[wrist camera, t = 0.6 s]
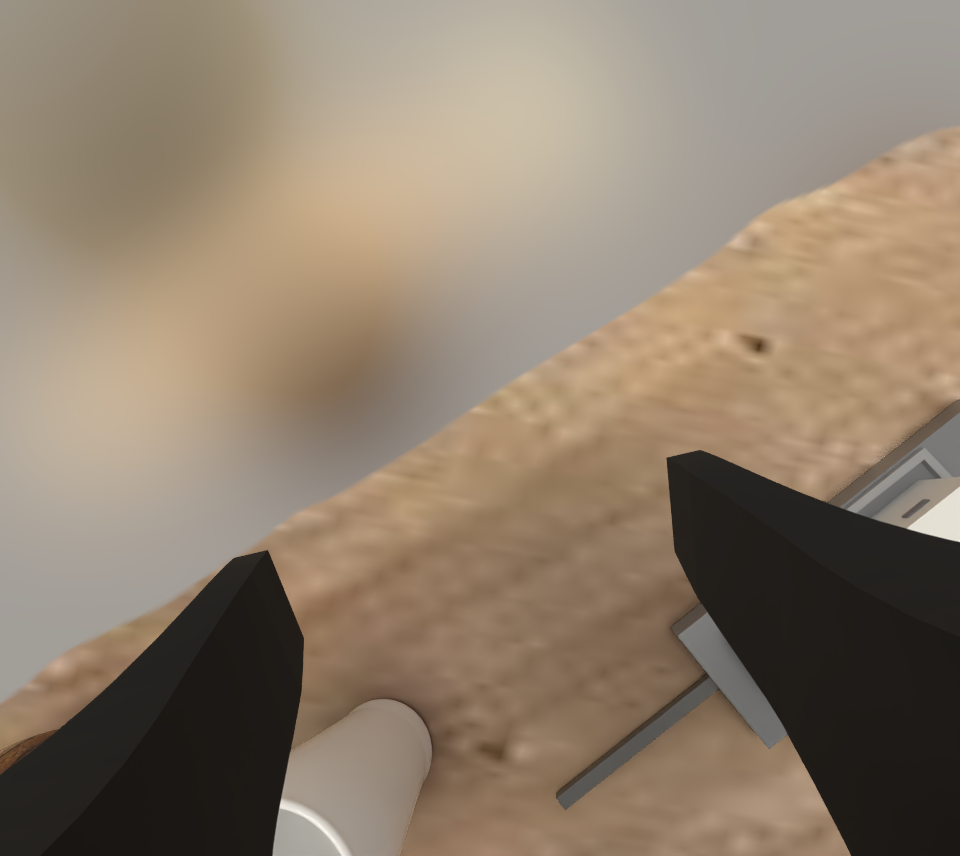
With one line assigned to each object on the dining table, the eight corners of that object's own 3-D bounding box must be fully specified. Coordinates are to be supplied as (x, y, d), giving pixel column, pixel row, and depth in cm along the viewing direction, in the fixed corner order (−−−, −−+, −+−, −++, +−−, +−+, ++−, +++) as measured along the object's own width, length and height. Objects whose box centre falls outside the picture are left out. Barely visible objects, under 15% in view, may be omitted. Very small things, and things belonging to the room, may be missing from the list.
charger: (979, 546, 32) (1047, 552, 27) (904, 605, 32) (959, 621, 27) (916, 479, 32) (972, 473, 28) (843, 537, 32) (887, 541, 28)
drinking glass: (470, 774, 36) (403, 961, 21) (362, 836, 36) (220, 1064, 21) (409, 659, 37) (304, 757, 22) (304, 719, 37) (132, 857, 22)
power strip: (1051, 498, 34) (1153, 496, 28) (601, 853, 34) (608, 923, 28) (956, 400, 35) (1034, 378, 29) (521, 745, 35) (513, 791, 30)
